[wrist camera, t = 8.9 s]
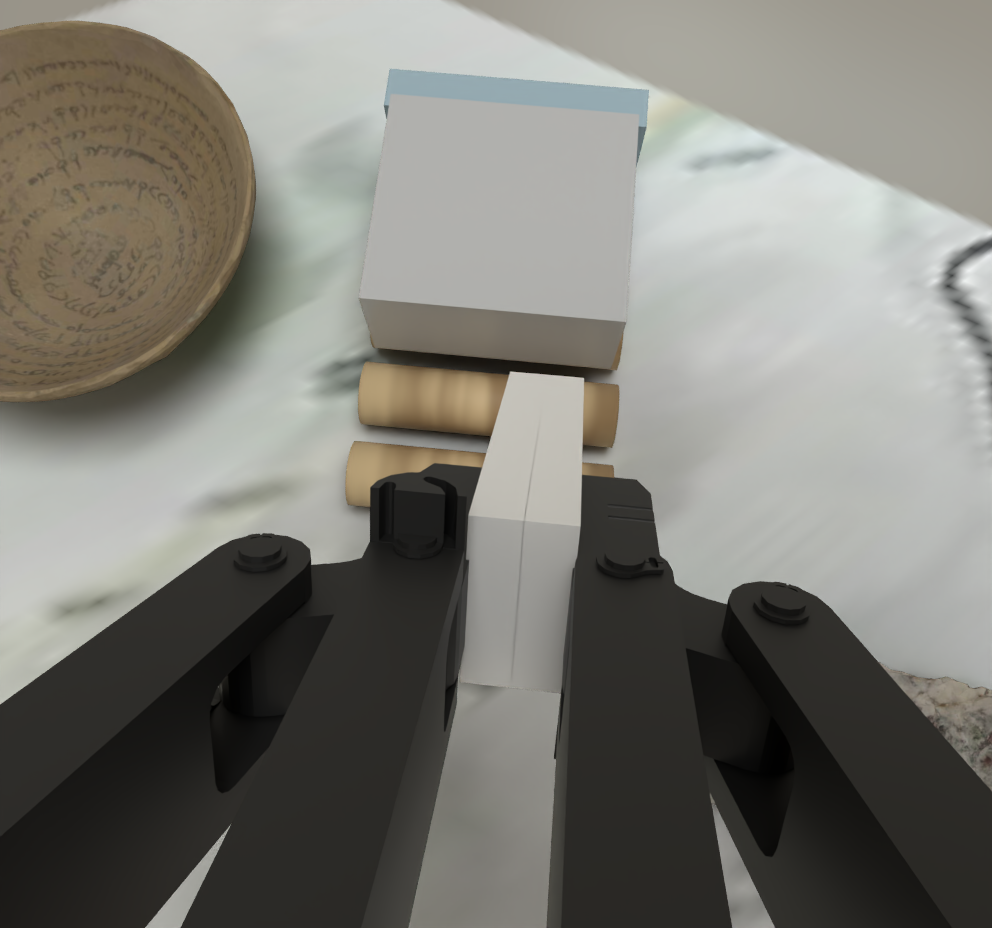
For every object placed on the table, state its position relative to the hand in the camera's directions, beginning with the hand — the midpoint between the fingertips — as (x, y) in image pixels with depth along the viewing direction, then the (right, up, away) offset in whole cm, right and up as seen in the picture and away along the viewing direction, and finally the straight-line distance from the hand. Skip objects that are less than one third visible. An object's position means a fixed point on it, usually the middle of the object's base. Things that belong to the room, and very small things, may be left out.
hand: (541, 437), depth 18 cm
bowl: (-21, +9, +27) cm, 35 cm away
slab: (-1, +9, +24) cm, 25 cm away
